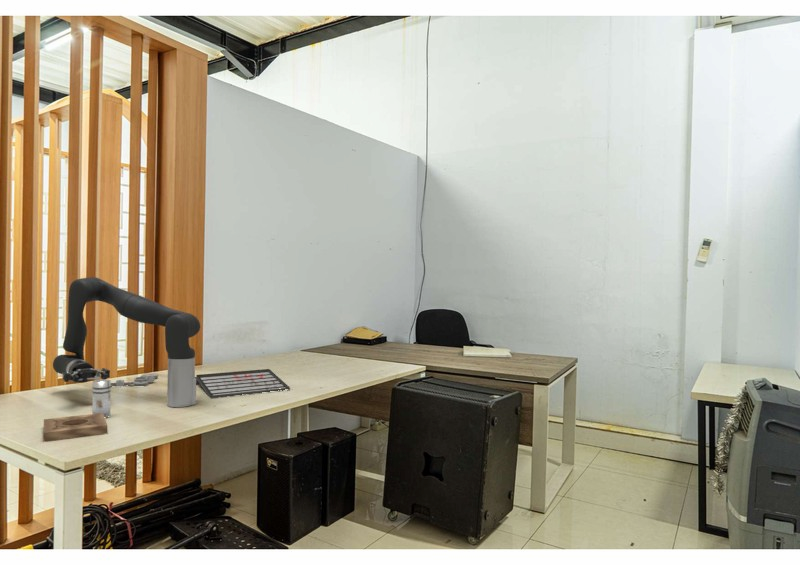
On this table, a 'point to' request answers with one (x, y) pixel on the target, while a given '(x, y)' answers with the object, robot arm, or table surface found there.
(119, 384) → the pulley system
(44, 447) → the table surface
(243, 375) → the shutter
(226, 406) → the table surface
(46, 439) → the ring block
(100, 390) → the salt shaker
